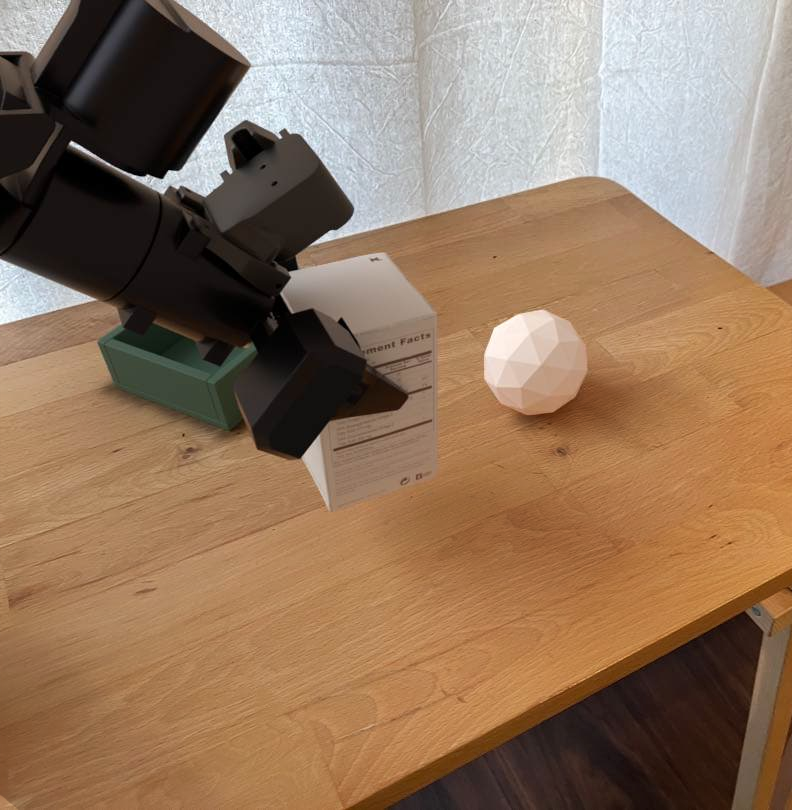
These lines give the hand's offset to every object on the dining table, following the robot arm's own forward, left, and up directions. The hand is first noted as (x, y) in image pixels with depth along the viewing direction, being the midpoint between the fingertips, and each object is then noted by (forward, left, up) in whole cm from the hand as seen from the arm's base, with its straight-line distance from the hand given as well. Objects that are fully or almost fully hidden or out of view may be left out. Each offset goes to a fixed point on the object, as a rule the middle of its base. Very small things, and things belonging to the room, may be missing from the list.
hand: (379, 364), depth 52 cm
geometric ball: (+2, +14, -12) cm, 19 cm away
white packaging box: (-1, -2, -7) cm, 8 cm away
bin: (-22, +5, -12) cm, 26 cm away
